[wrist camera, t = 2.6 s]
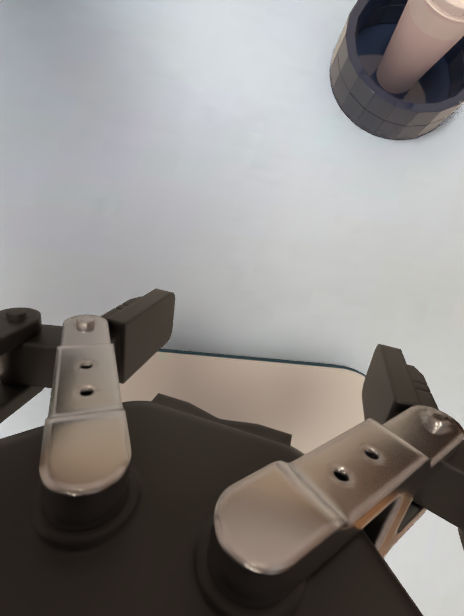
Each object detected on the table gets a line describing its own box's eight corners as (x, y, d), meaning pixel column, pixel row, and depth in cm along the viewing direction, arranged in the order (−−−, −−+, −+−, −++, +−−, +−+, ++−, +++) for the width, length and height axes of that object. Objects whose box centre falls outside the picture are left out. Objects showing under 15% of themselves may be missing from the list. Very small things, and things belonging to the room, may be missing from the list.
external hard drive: (373, 367, 30) (384, 369, 29) (366, 505, 29) (378, 516, 27) (102, 343, 29) (94, 343, 27) (83, 485, 28) (74, 496, 26)
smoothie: (437, 64, 34) (598, -131, 20) (411, 118, 33) (559, -45, 19) (379, 34, 34) (499, -185, 20) (351, 87, 33) (456, -101, 19)
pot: (303, 68, 33) (316, 30, 29) (394, -5, 34) (419, -51, 30) (392, 165, 33) (417, 141, 29) (481, 87, 34) (517, 54, 30)
